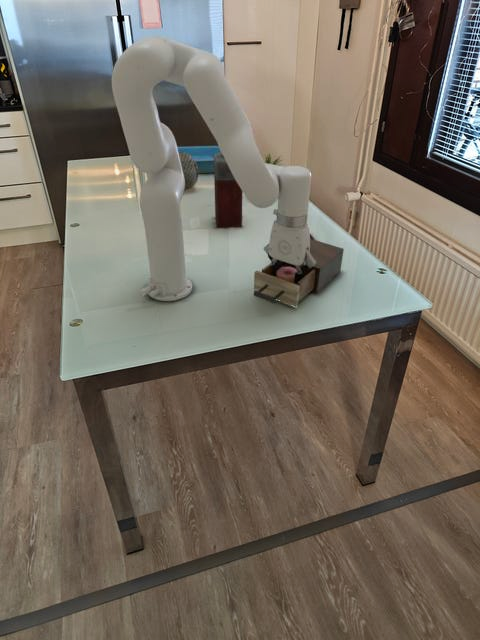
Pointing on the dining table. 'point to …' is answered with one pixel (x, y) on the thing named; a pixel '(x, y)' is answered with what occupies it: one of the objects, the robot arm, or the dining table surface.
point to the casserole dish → (202, 156)
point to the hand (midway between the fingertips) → (287, 279)
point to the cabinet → (325, 262)
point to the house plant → (268, 161)
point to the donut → (286, 274)
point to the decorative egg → (188, 169)
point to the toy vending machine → (226, 195)
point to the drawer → (283, 285)
